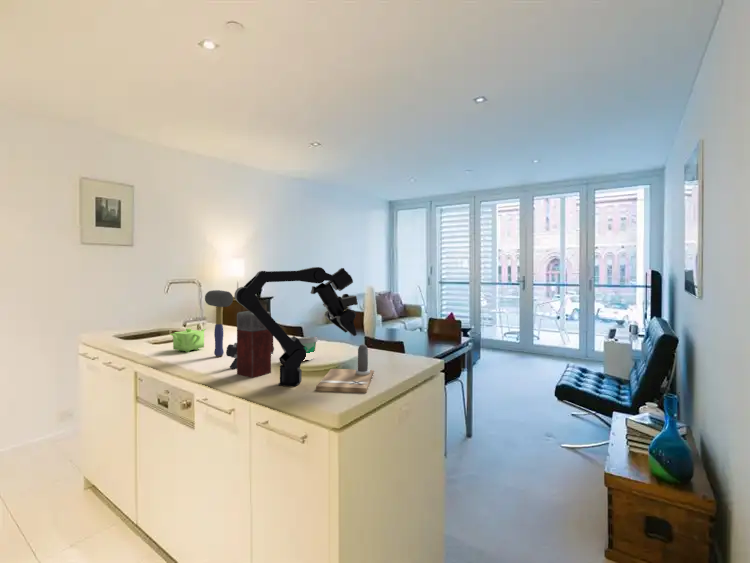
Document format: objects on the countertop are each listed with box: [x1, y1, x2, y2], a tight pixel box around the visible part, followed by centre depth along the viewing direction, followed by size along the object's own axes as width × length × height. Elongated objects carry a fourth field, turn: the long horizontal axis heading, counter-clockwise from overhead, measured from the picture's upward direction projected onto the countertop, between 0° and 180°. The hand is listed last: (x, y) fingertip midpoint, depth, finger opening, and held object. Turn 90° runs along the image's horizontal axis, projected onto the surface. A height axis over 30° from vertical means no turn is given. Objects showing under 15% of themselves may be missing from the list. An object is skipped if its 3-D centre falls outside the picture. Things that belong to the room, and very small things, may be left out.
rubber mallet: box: [204, 289, 234, 358], centre depth 176 cm, size 12×8×30 cm, turn 55°
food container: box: [290, 336, 318, 353], centre depth 170 cm, size 12×6×10 cm, turn 105°
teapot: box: [169, 328, 207, 353], centre depth 189 cm, size 15×13×11 cm
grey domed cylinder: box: [355, 344, 371, 376], centre depth 143 cm, size 5×5×11 cm
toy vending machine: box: [236, 310, 274, 379], centre depth 148 cm, size 9×11×28 cm
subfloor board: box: [315, 368, 375, 394], centre depth 137 cm, size 16×23×2 cm
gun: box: [225, 342, 275, 370], centre depth 163 cm, size 2×25×10 cm, turn 151°
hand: (351, 333), depth 144 cm, fingers open, 9 cm apart
